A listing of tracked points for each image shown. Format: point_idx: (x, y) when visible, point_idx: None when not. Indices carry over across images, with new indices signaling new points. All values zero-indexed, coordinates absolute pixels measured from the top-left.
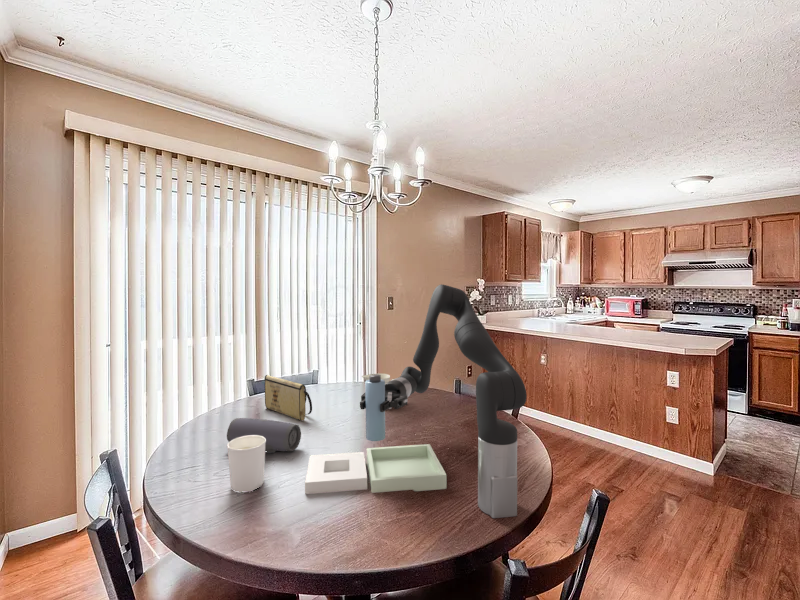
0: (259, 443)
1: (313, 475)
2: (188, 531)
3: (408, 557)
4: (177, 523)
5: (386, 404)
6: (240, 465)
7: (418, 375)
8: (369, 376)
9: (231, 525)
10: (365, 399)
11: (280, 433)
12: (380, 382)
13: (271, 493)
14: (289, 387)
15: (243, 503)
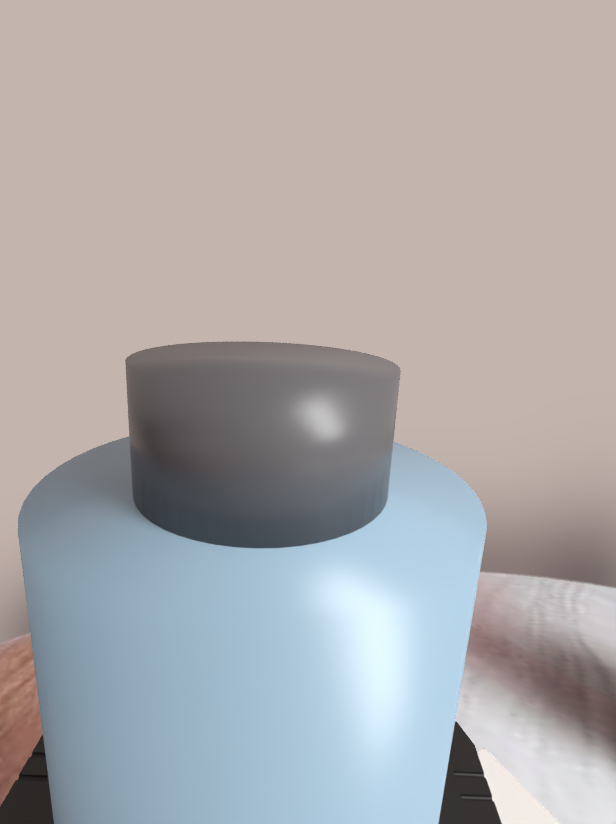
0: None
1: (515, 820)
2: (550, 585)
3: (26, 650)
4: (602, 593)
5: (40, 760)
6: None
7: None
8: (357, 356)
9: (502, 617)
10: (445, 799)
11: None
12: (127, 460)
13: (600, 763)
14: None
15: (594, 686)
